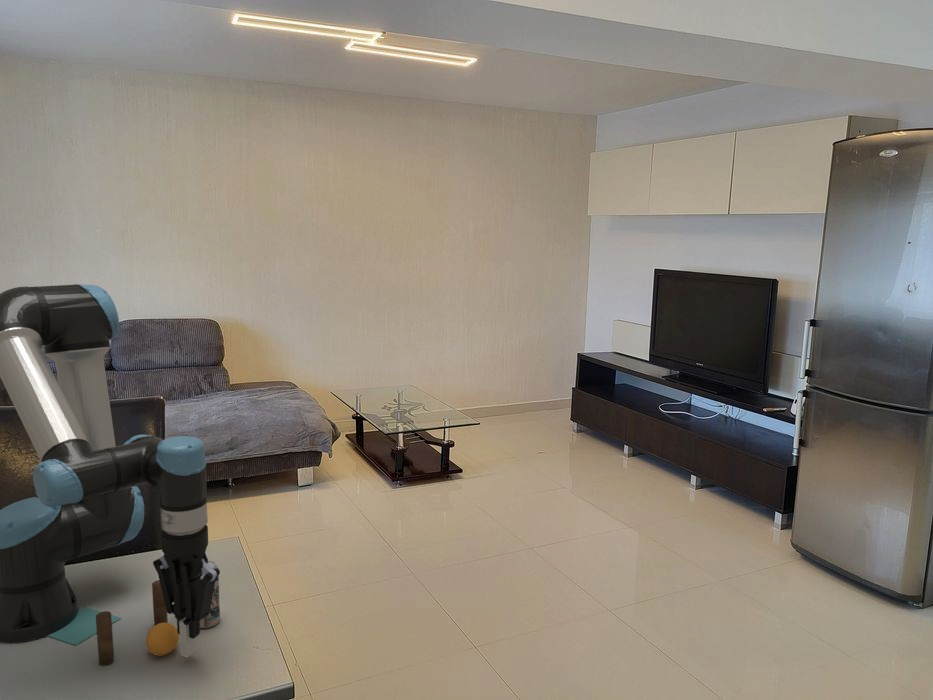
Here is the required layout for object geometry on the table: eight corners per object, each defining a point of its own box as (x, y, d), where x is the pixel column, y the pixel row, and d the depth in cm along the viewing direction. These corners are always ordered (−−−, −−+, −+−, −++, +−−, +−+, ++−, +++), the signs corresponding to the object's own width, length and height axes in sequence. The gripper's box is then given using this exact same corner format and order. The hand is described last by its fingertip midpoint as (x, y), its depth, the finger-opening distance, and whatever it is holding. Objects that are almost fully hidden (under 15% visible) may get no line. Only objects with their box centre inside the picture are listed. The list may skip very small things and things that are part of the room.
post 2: (151, 627, 134) (149, 584, 132) (161, 621, 136) (158, 578, 134) (161, 630, 133) (158, 587, 131) (170, 624, 135) (168, 581, 133)
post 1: (95, 663, 122) (92, 616, 121) (107, 656, 125) (104, 610, 123) (105, 667, 121) (102, 619, 120) (117, 659, 124) (114, 613, 122)
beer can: (211, 631, 133) (209, 573, 131) (189, 628, 134) (186, 570, 132) (225, 618, 138) (223, 561, 136) (203, 614, 139) (201, 558, 137)
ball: (167, 648, 122) (155, 667, 123) (190, 631, 127) (178, 650, 128) (146, 626, 123) (134, 646, 125) (169, 610, 128) (158, 630, 130)
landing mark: (37, 632, 131) (37, 631, 131) (84, 607, 140) (84, 606, 140) (75, 645, 127) (75, 644, 127) (121, 618, 137) (121, 617, 136)
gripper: (138, 528, 119) (144, 654, 123) (198, 543, 114) (203, 673, 118) (171, 512, 126) (177, 632, 130) (229, 525, 121) (233, 649, 125)
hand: (189, 651), depth 124 cm, fingers closed
